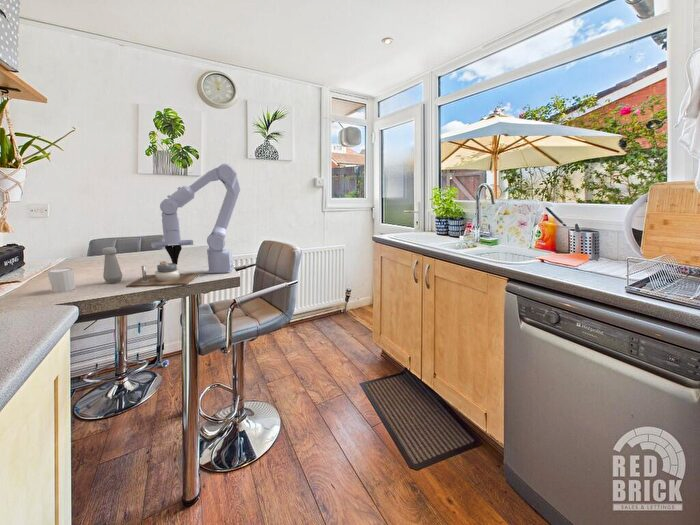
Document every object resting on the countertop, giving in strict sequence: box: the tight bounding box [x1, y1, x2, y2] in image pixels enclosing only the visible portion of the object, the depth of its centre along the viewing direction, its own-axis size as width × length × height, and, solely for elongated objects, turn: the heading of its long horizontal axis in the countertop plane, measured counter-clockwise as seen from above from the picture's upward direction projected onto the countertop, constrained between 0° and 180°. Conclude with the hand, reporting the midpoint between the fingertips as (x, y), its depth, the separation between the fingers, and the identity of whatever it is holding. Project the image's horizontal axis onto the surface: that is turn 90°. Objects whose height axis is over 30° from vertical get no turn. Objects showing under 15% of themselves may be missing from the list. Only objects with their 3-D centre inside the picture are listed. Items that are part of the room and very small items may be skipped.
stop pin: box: [141, 265, 150, 283], centre depth 121 cm, size 3×3×6 cm
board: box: [125, 272, 201, 288], centre depth 126 cm, size 20×16×1 cm
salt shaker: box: [101, 246, 123, 284], centre depth 122 cm, size 6×6×13 cm
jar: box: [154, 268, 181, 281], centre depth 126 cm, size 8×8×3 cm
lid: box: [156, 260, 178, 272], centre depth 127 cm, size 12×6×2 cm, turn 39°
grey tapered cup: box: [46, 267, 76, 293], centre depth 113 cm, size 7×7×7 cm
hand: (175, 264), depth 133 cm, fingers closed
